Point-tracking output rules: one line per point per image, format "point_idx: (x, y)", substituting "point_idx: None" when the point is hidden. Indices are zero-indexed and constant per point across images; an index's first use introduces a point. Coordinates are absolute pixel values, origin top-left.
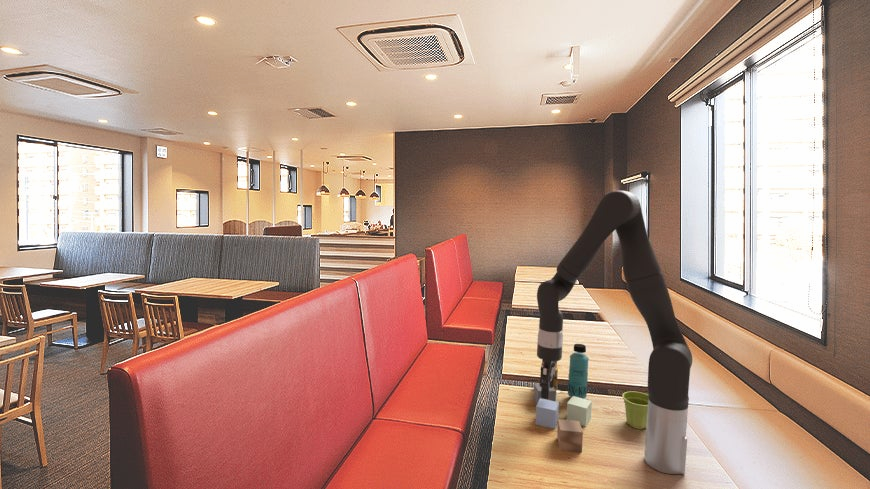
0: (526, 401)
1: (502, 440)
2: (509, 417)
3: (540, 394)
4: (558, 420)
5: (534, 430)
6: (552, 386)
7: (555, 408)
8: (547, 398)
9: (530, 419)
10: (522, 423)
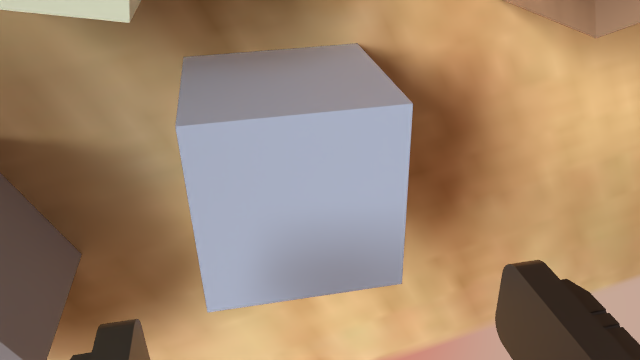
0: None
1: (606, 278)
2: (343, 342)
3: (35, 329)
4: (623, 26)
5: (442, 171)
6: (133, 332)
7: (365, 120)
8: (541, 267)
9: None
10: None
